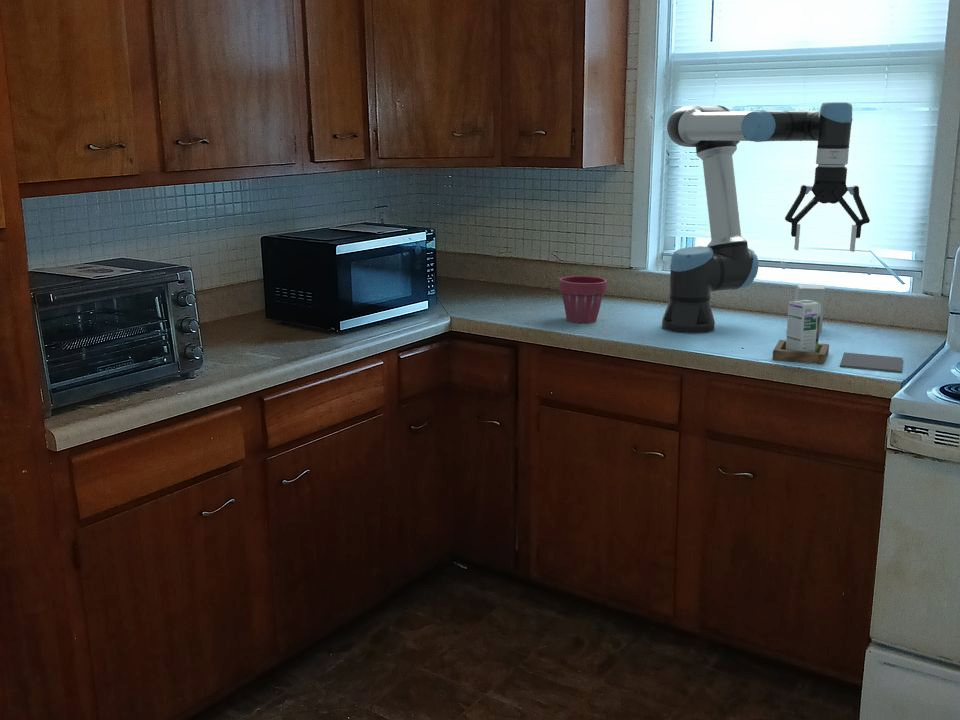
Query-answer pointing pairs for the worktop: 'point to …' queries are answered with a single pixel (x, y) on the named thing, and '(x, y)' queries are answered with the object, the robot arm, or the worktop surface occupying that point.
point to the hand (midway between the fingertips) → (824, 250)
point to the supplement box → (811, 296)
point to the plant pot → (582, 297)
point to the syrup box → (803, 326)
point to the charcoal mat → (871, 362)
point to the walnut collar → (800, 354)
